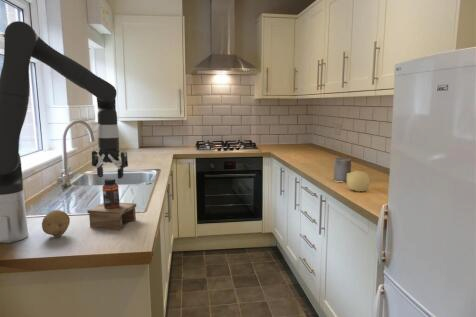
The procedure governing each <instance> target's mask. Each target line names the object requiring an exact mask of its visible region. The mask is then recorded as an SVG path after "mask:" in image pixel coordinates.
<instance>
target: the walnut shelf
mask: <svg viewBox="0 0 476 317" xmlns="http://www.w3.org/2000/svg"><path fill="white" fill-rule="evenodd" d="M136 207H137V203H132V202H120V205H119V206H118V207H116V208H111V209H108V208H104V202H102V203H100V204H97V205H96V206H94V207H91V208H89V209H87V210H86V211H87V214H88V216H89V228H91V229H103V230H112V231H113V230H114V231H122V230H123V221H125V222H135V221H136V220H137V219H136V218H137V215H136Z"/></svg>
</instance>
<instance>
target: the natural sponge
mask: <svg viewBox="0 0 476 317" xmlns="http://www.w3.org/2000/svg"><path fill="white" fill-rule="evenodd" d="M70 222H71V219H70V216H69V214H68V213H67V212H65V211H63V210H61V209H60V210H59V209H55V210H52V211H50V212H48V213H47V214H45V216H44V217H43V218H42V221H41V229H42V231H43V232H44V233H45V234H46V235H50V236H52V237H55V238H60V237H61V236H63V235H64V234H65V232H66V231H67V229H68V228H69V225H70Z"/></svg>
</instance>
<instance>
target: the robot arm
mask: <svg viewBox="0 0 476 317" xmlns="http://www.w3.org/2000/svg"><path fill="white" fill-rule="evenodd" d="M3 35H4V37H3V38H4V47H3V49H4V51H3V61H2V62H3V63H2V67H1V72H0V243H2V244H11V243H14V242H18V241H22V240H24V239H26V238H27V237H28V236H29V231H28V220H27V213H26V202H25V193H24V180H23V179H24V178H23V171H22V169H23V168H22V161H21V155H20V138H21V137H20V136H21V132H22V129H23V126H24V123H25V120H26V116H27V113H28V112H27V111H28V106H29V103H30V102H29V101H30V91H31V89H30V88H31V87H30V83H31V82H30V63H31V58H33V59H36V60H38V61H40V62H42V63H43V64H44V65H46V66H48V67H49V68H51V69H52V70H54V71H56V72H57V73H58V74H60V76H63V77H64V78H65V79H66V80H68V81H69V82H72V83H73V84H74V85H76V86H77V87H79V88H81V89H83V90H85V91H87V92H88V93H90V94H91V95H92V96H94V97H95V98H96V103H97V104H96V106H97V143H98V149H99V150H93V151H92V152H91V165H92V167H96V171H97V176H98V178H103V177H104V167H103V166H104V164H106V163H109V164H112V163H113V165H115V166H116V167H117V178H118V180H119V179H121V180H122V179H123V177H124V169H125V168H128V167H129V161H128V153H127V151H120V136H119V135H120V134H119V126H118V113H117V109H116V108H117V105H116V104H117V103H116V100H117V99H116V97H117V89H116V87H115V86H114V85H113V84H111V83H110V82H108V81H106V79H103V78H102V77H100V76H99V75H96V74H95V73H93V72H92V71H91V70H90V69H88V68H86V67H85V66H84V65H82V64H80V63H79V62H77V61H75V60H74V59H72V58H71V57H69V56H67V55H64V54H63V53H61V52H60V51H58V50H57V49H55V48H53V47H52V46H50V45H49V44H48V43H46V41H44V40H43V39H42V38H41V37H40V36H38V34H37V33H36V31H35V29H34V28H33V27H32V26H31V25H30V24H28V23H26V22H24V21H20V20H17V21H12V22H11V23H9V24H8V25H7V26H6V27H5V29H4V34H3ZM99 157H100V158H99Z"/></svg>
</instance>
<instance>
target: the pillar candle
mask: <svg viewBox="0 0 476 317" xmlns="http://www.w3.org/2000/svg"><path fill="white" fill-rule="evenodd" d="M333 162H334V164H333V168H334V169H333V181H334V180H336V181H343V182H347V173H351V172H352V158H350V157H335V158H334V161H333Z"/></svg>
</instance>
